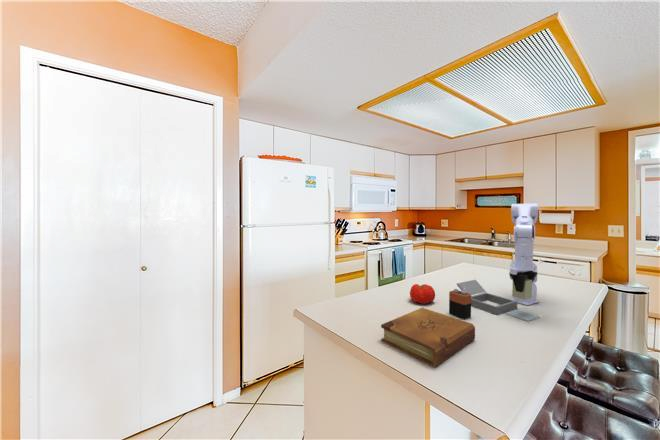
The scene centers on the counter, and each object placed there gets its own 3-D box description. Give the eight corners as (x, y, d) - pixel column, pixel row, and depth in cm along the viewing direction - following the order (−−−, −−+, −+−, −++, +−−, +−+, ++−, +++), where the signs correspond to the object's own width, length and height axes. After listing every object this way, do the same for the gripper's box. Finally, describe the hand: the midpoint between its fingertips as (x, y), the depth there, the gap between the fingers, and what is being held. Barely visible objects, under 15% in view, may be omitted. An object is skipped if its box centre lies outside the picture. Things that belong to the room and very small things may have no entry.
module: (518, 294, 105) (519, 275, 104) (531, 297, 101) (532, 278, 100) (512, 296, 103) (512, 277, 102) (525, 299, 99) (525, 280, 98)
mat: (517, 310, 107) (517, 309, 107) (539, 317, 100) (539, 316, 100) (505, 314, 103) (505, 313, 103) (528, 321, 96) (528, 320, 96)
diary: (435, 370, 69) (435, 349, 69) (381, 342, 84) (381, 324, 84) (475, 341, 83) (475, 323, 83) (422, 322, 98) (422, 306, 98)
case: (475, 295, 125) (475, 279, 125) (517, 308, 109) (517, 289, 109) (455, 300, 119) (455, 283, 119) (496, 315, 103) (497, 295, 102)
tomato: (408, 304, 115) (408, 287, 115) (411, 296, 125) (411, 281, 125) (435, 307, 111) (435, 290, 111) (435, 299, 121) (435, 283, 121)
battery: (464, 320, 98) (464, 293, 98) (448, 313, 104) (448, 288, 104) (471, 317, 100) (471, 291, 100) (455, 311, 106) (455, 287, 106)
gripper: (522, 252, 108) (521, 285, 108) (501, 255, 101) (501, 290, 102) (542, 255, 101) (542, 289, 102) (522, 258, 95) (521, 295, 95)
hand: (522, 290), depth 101 cm, fingers closed on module, 4 cm apart
